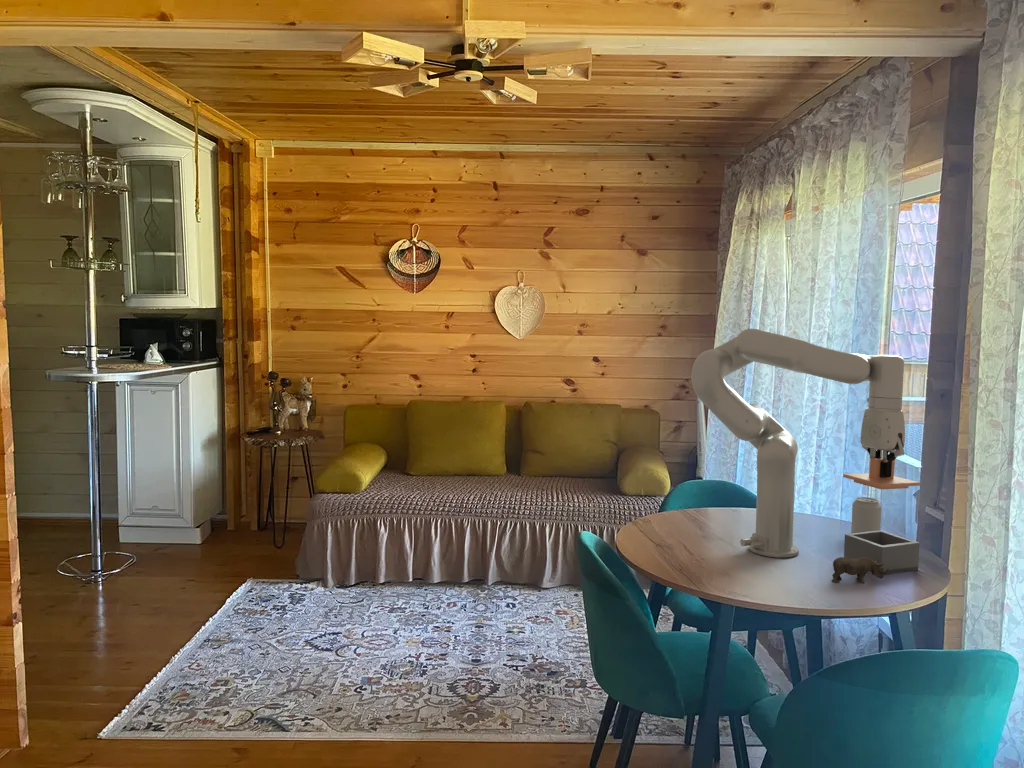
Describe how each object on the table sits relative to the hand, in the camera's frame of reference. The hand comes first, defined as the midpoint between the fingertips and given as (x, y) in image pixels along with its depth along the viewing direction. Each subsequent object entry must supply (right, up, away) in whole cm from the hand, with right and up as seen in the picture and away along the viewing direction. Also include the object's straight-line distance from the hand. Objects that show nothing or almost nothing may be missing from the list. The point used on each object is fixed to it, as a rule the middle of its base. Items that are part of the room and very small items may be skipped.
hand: (881, 475), depth 185 cm
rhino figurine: (-11, -24, -11) cm, 29 cm away
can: (+7, -22, +23) cm, 32 cm away
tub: (0, -23, +1) cm, 23 cm away
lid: (0, -2, 0) cm, 2 cm away
